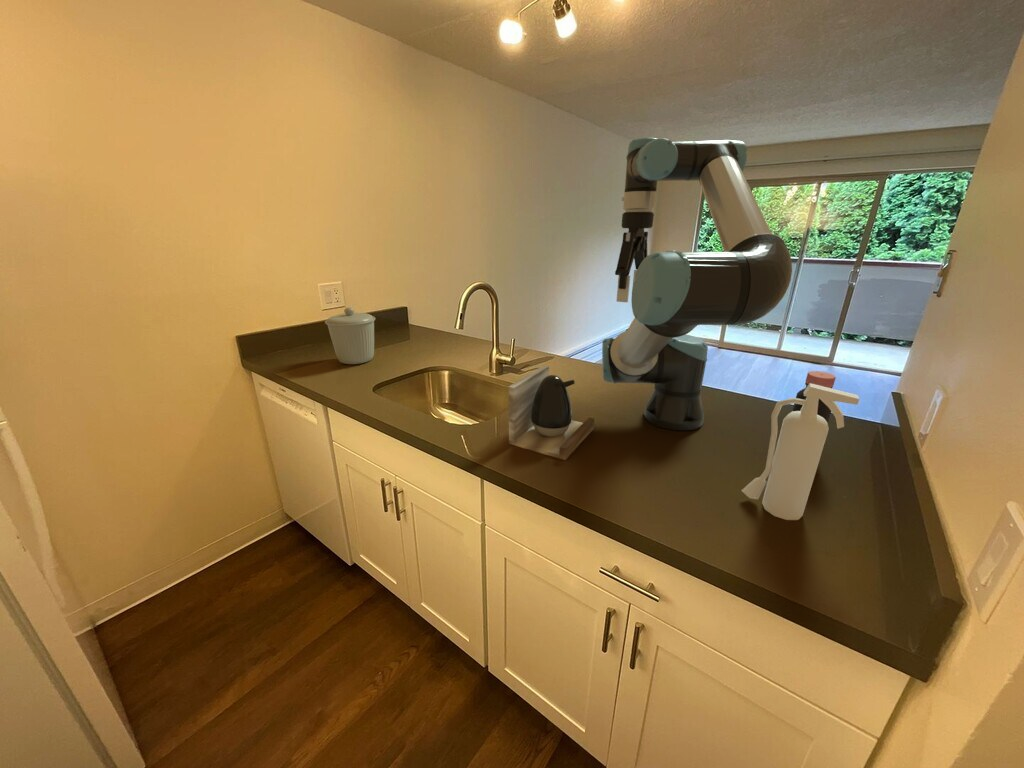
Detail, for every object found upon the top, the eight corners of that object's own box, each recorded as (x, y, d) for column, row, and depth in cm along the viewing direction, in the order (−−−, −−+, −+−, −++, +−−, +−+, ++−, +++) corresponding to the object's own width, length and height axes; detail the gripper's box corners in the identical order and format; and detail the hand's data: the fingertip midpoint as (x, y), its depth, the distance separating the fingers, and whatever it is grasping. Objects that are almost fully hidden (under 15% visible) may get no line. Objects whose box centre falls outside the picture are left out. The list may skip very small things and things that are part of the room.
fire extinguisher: (741, 486, 85) (773, 372, 75) (812, 508, 79) (858, 387, 69) (737, 504, 79) (771, 384, 69) (813, 530, 73) (862, 402, 63)
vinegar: (775, 448, 99) (795, 369, 92) (804, 449, 99) (827, 369, 92) (792, 464, 93) (815, 380, 86) (823, 464, 93) (849, 380, 85)
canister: (390, 358, 167) (384, 305, 159) (352, 371, 153) (343, 314, 145) (360, 351, 176) (353, 301, 168) (322, 363, 162) (312, 308, 154)
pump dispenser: (570, 443, 100) (573, 384, 94) (527, 439, 102) (528, 381, 96) (573, 424, 109) (576, 370, 104) (534, 421, 111) (534, 367, 105)
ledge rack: (593, 428, 109) (597, 375, 104) (565, 460, 95) (568, 399, 89) (542, 416, 116) (543, 365, 111) (508, 443, 102) (508, 386, 96)
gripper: (637, 212, 115) (629, 290, 122) (606, 210, 95) (600, 303, 102) (665, 212, 111) (655, 292, 119) (639, 209, 91) (630, 306, 99)
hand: (629, 298), depth 110 cm, fingers open, 13 cm apart
